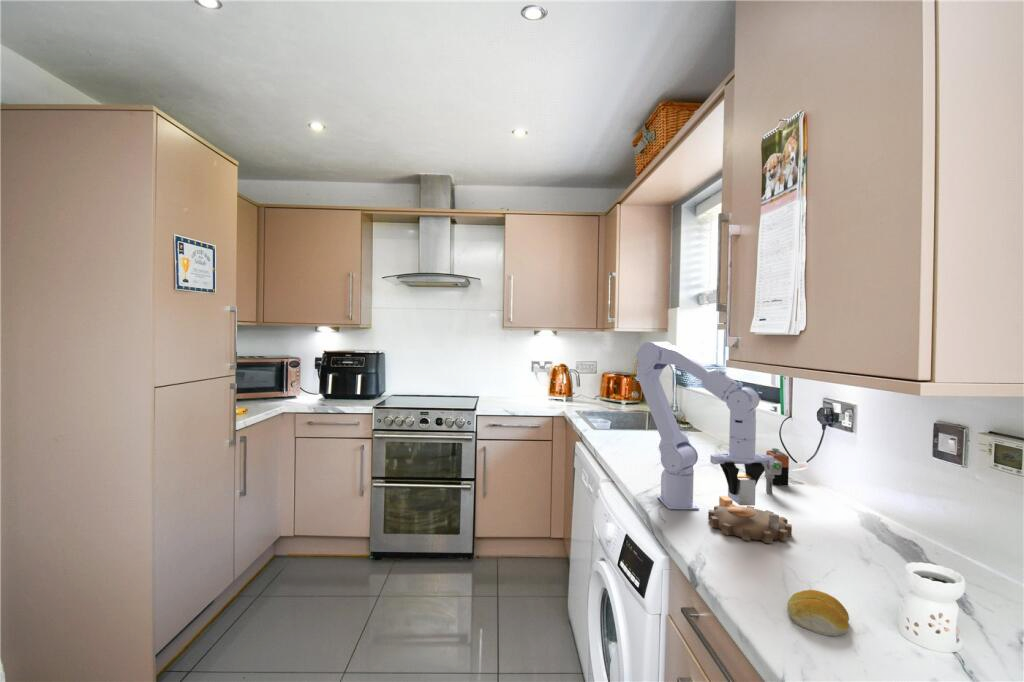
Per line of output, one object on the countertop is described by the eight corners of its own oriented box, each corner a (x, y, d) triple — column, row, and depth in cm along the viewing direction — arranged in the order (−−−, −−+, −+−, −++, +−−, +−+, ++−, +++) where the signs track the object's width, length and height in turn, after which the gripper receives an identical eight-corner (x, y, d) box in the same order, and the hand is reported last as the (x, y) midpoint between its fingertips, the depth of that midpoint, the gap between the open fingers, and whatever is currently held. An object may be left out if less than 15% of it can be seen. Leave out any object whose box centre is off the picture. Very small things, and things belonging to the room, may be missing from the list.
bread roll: (848, 616, 77) (849, 591, 77) (848, 645, 70) (849, 618, 70) (790, 598, 82) (790, 575, 82) (783, 624, 75) (784, 598, 75)
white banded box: (727, 496, 118) (728, 471, 118) (742, 496, 118) (743, 471, 118) (739, 505, 112) (740, 479, 112) (755, 505, 112) (755, 479, 112)
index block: (719, 507, 124) (719, 496, 124) (726, 507, 124) (726, 496, 124) (724, 512, 121) (724, 500, 121) (732, 512, 121) (732, 500, 121)
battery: (780, 479, 150) (780, 448, 150) (788, 486, 143) (789, 453, 143) (765, 478, 150) (765, 447, 150) (773, 485, 144) (774, 452, 144)
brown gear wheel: (696, 525, 111) (697, 504, 111) (724, 507, 123) (725, 488, 123) (778, 550, 99) (778, 526, 99) (800, 526, 111) (800, 505, 111)
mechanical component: (766, 487, 142) (767, 454, 141) (782, 499, 131) (783, 463, 131) (756, 487, 142) (757, 453, 142) (771, 498, 132) (772, 463, 131)
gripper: (720, 441, 111) (718, 498, 111) (781, 441, 111) (780, 499, 111) (707, 434, 118) (706, 489, 118) (765, 435, 118) (763, 489, 118)
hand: (741, 493), depth 115 cm, fingers closed on white banded box, 4 cm apart
